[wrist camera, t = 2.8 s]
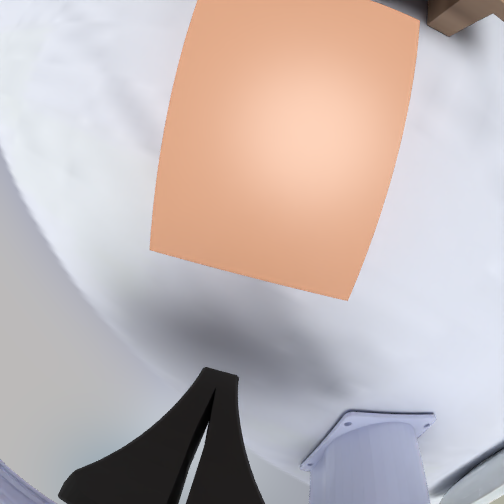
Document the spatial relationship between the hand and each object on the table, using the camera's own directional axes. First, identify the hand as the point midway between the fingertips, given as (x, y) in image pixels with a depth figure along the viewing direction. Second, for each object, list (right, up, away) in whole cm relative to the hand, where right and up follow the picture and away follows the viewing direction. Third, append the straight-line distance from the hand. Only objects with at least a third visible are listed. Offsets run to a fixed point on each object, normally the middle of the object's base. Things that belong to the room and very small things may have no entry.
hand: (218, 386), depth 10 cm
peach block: (+3, +10, 0) cm, 10 cm away
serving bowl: (+37, -26, +10) cm, 47 cm away
